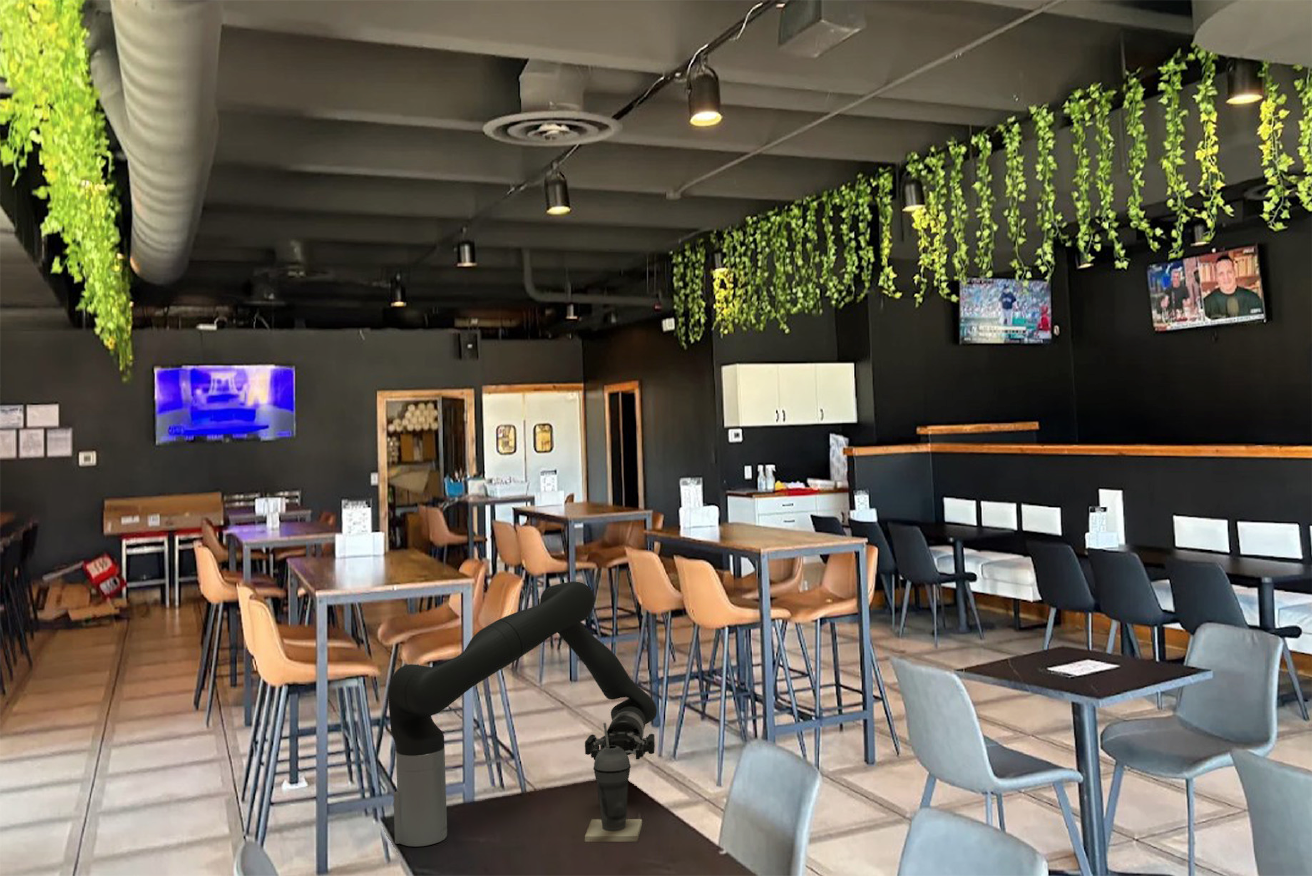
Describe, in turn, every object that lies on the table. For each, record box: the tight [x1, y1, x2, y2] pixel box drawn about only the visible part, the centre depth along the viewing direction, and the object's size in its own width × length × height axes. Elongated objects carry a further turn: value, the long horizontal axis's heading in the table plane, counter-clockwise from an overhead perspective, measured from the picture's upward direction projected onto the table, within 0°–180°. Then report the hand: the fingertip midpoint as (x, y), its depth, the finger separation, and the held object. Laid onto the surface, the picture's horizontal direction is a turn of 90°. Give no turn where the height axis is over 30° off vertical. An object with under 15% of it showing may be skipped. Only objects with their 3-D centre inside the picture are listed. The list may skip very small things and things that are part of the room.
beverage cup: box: [592, 722, 632, 831], centre depth 198 cm, size 7×7×20 cm
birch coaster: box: [584, 818, 643, 843], centre depth 197 cm, size 10×9×1 cm
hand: (616, 754), depth 204 cm, fingers open, 8 cm apart
